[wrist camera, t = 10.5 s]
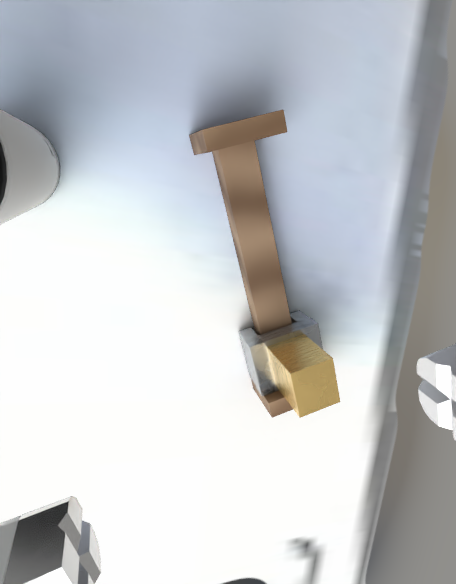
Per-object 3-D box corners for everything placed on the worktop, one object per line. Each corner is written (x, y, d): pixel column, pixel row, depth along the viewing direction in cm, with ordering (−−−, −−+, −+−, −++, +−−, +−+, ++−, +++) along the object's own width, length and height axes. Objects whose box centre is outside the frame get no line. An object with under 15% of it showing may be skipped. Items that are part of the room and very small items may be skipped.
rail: (189, 135, 32) (202, 129, 28) (259, 117, 33) (283, 109, 29) (253, 389, 40) (272, 417, 36) (308, 368, 42) (333, 393, 37)
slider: (237, 331, 38) (271, 374, 30) (300, 310, 39) (348, 346, 31) (249, 377, 40) (283, 429, 32) (309, 355, 41) (357, 400, 33)
